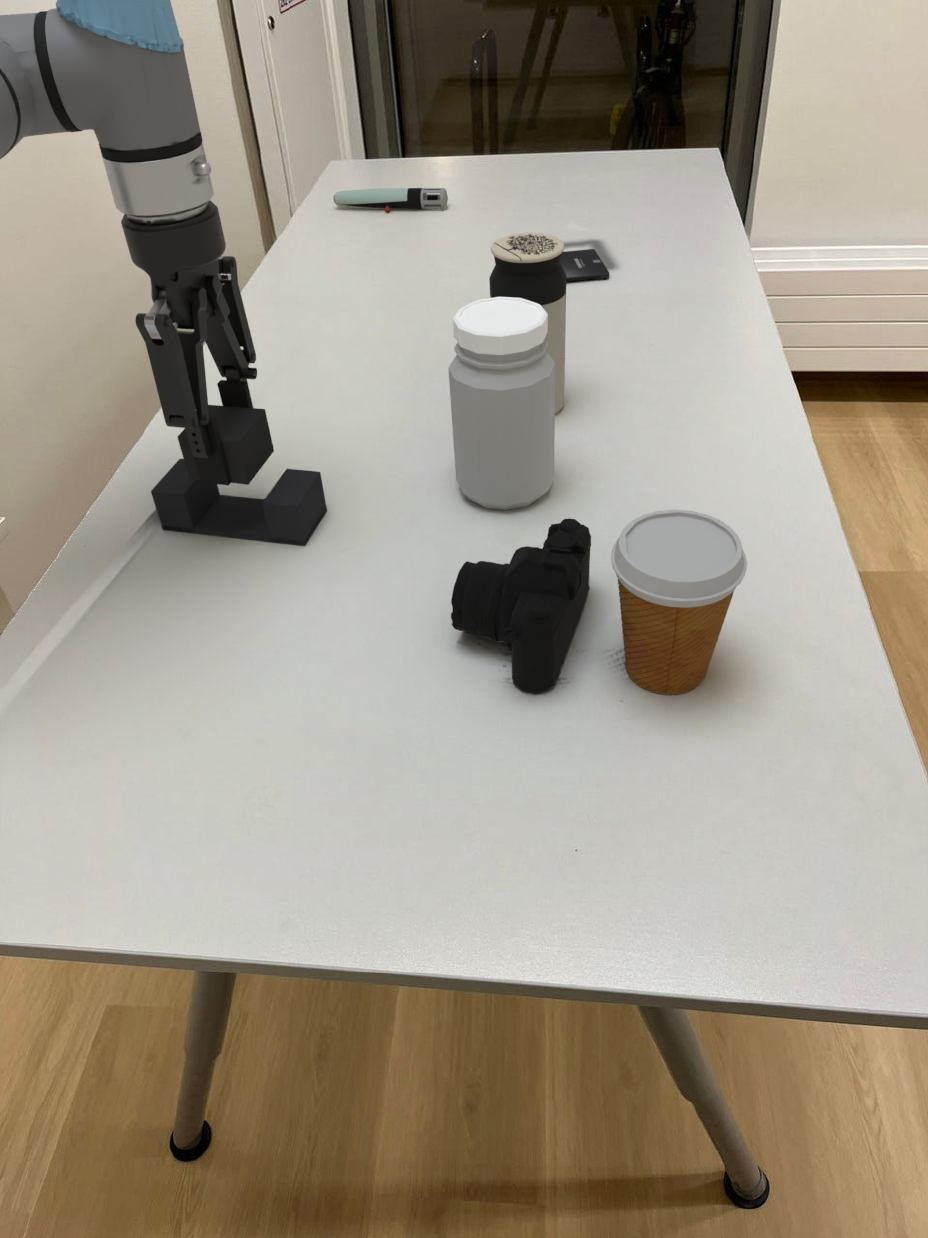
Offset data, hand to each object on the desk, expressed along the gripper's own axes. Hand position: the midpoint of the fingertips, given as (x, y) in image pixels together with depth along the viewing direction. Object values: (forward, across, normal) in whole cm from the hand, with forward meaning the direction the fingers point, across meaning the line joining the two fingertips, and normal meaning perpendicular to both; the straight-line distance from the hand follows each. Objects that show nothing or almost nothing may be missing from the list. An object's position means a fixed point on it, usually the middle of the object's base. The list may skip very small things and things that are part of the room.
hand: (232, 462), depth 89 cm
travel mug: (+7, +27, -23) cm, 36 cm away
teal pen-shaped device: (+7, +91, +14) cm, 92 cm away
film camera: (+7, -11, -30) cm, 33 cm away
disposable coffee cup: (+7, -13, -42) cm, 44 cm away
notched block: (+7, 0, 0) cm, 7 cm away
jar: (+7, +10, -24) cm, 27 cm away
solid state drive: (+7, +68, -22) cm, 72 cm away
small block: (0, 0, 0) cm, 0 cm away
